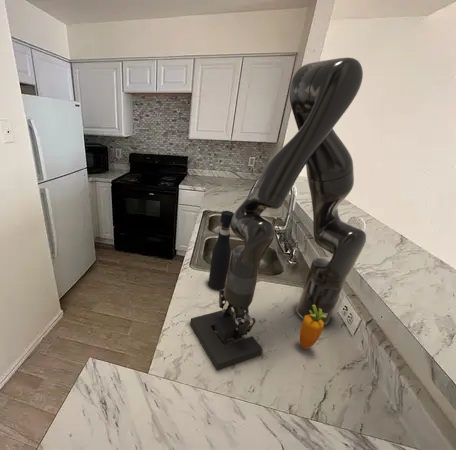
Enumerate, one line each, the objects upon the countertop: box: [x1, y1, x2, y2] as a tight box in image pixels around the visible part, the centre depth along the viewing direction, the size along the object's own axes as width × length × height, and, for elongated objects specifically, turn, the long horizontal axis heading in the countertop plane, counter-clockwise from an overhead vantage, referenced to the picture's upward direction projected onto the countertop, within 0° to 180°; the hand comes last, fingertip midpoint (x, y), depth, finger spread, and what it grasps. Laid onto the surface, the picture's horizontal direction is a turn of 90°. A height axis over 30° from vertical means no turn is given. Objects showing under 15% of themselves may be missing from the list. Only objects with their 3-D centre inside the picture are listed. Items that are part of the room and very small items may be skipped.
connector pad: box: [214, 315, 249, 342], centre depth 74 cm, size 8×5×4 cm, turn 109°
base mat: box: [189, 309, 264, 371], centre depth 74 cm, size 14×16×2 cm
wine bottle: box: [208, 210, 234, 292], centre depth 90 cm, size 6×6×30 cm
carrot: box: [299, 305, 326, 350], centre depth 69 cm, size 5×5×15 cm
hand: (230, 330), depth 74 cm, fingers closed on connector pad, 5 cm apart
